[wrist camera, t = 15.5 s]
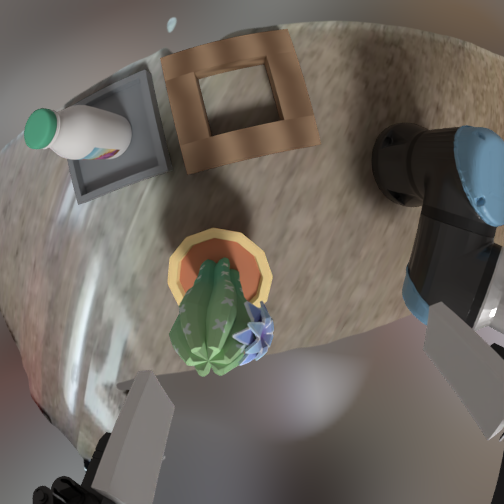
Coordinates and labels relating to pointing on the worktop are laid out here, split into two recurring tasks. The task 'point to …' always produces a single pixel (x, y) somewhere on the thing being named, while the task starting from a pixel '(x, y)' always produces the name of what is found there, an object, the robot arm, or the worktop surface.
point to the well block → (248, 139)
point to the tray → (140, 148)
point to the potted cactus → (220, 301)
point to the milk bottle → (79, 132)
